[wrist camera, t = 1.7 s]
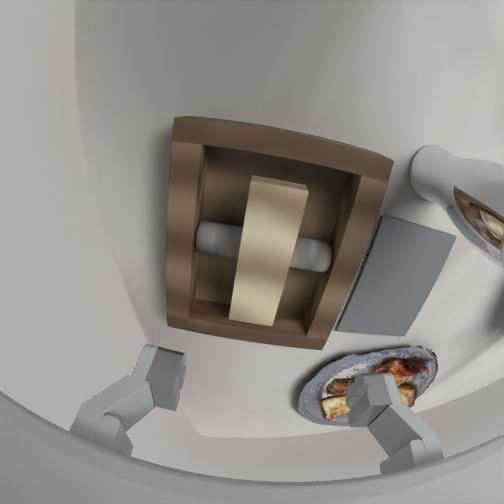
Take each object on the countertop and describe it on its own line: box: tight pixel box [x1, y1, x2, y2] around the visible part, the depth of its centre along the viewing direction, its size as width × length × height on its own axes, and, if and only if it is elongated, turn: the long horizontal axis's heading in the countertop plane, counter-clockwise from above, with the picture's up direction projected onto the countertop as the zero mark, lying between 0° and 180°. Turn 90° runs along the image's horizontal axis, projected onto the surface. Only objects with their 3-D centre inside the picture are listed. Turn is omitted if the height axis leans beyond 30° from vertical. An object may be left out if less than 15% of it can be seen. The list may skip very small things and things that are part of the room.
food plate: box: [298, 346, 438, 426], centre depth 40 cm, size 25×23×4 cm
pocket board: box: [166, 116, 394, 350], centre depth 27 cm, size 22×18×4 cm
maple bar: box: [229, 175, 309, 326], centre depth 25 cm, size 14×4×2 cm, turn 171°
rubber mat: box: [336, 215, 456, 336], centre depth 30 cm, size 16×11×1 cm
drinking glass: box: [410, 145, 504, 271], centre depth 17 cm, size 7×7×15 cm
